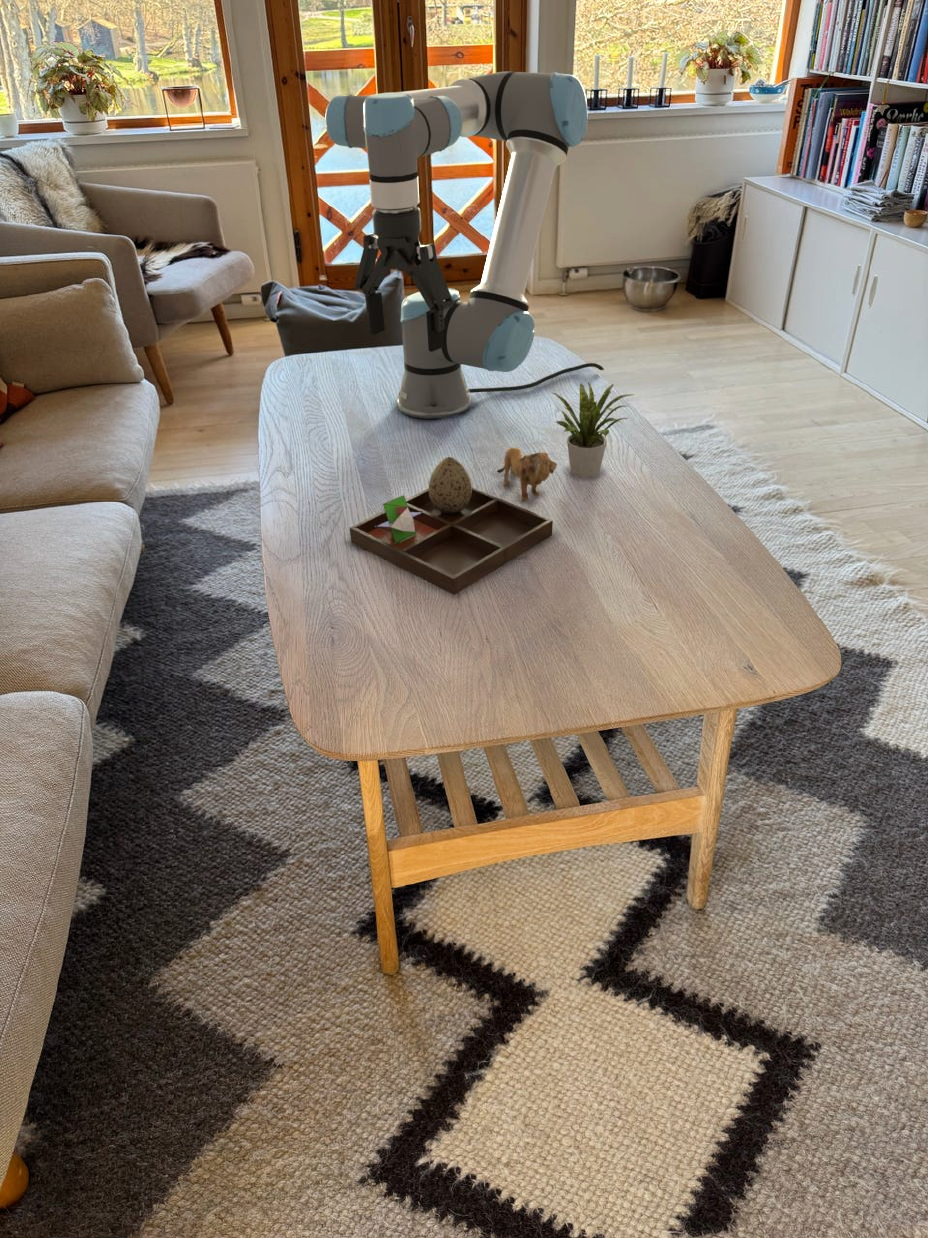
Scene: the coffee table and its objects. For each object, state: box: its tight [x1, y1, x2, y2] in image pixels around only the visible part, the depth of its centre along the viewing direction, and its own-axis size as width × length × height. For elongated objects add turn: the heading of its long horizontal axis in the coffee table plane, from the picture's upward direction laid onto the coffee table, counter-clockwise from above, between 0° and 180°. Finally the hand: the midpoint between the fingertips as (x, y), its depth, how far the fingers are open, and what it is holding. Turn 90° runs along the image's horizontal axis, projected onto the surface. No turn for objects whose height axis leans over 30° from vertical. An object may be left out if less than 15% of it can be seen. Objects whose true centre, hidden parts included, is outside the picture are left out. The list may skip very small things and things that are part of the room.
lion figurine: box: [496, 446, 558, 502], centre depth 164 cm, size 15×5×9 cm, turn 35°
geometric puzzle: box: [375, 494, 424, 544], centre depth 150 cm, size 7×7×8 cm
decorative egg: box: [428, 456, 473, 514], centre depth 156 cm, size 7×7×10 cm
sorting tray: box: [349, 486, 554, 596], centre depth 152 cm, size 23×23×3 cm
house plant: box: [550, 381, 634, 479], centre depth 166 cm, size 14×14×16 cm
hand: (406, 340), depth 160 cm, fingers open, 13 cm apart
